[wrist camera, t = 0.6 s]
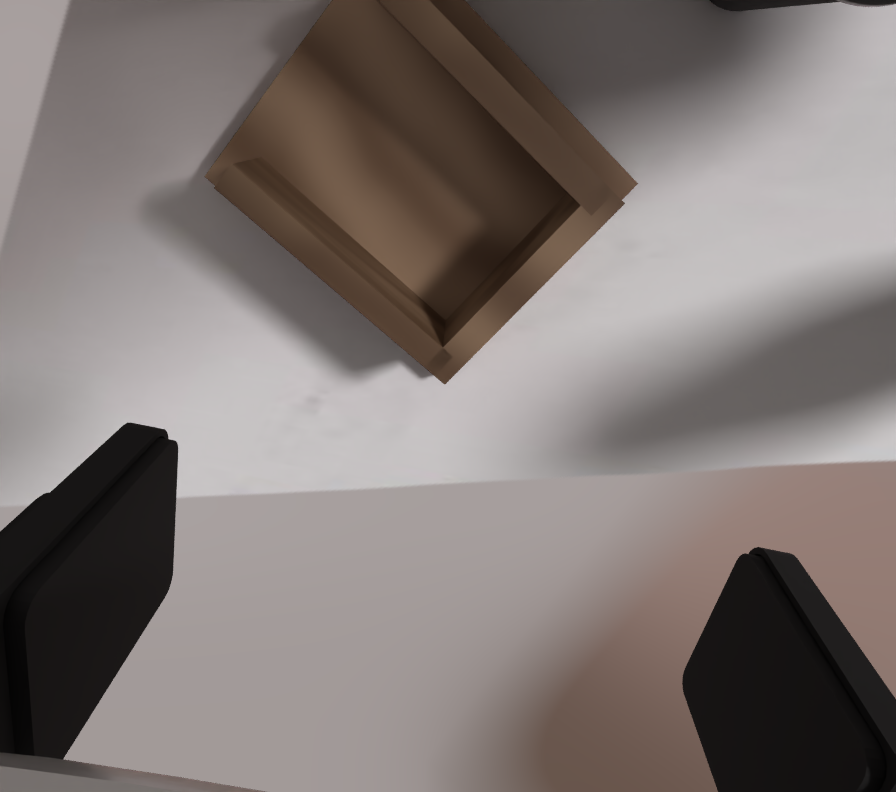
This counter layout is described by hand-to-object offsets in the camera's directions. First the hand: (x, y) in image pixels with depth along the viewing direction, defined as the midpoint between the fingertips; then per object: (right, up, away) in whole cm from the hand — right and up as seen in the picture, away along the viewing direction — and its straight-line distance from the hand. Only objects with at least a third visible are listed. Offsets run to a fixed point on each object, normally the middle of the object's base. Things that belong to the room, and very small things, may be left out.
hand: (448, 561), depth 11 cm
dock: (-2, +15, +27) cm, 31 cm away
